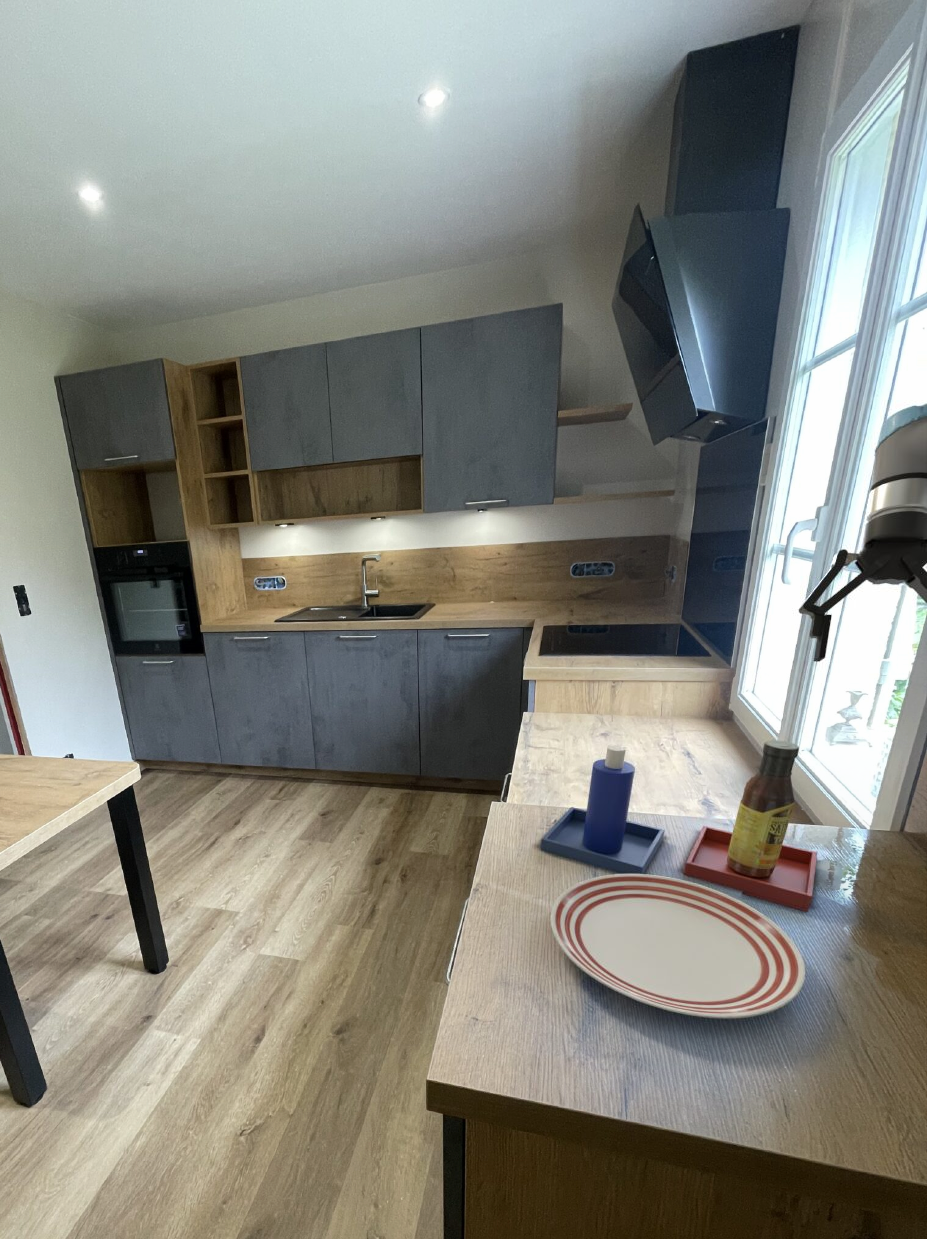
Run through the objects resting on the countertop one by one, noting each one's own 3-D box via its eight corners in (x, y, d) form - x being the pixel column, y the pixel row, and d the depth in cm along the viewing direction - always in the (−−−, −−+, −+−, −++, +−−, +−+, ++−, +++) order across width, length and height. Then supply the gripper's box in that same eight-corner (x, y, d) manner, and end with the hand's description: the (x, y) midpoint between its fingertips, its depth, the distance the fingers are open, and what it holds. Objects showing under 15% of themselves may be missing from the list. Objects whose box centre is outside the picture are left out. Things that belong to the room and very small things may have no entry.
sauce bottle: (764, 885, 88) (800, 756, 80) (717, 868, 92) (747, 745, 85) (780, 868, 92) (816, 744, 84) (735, 853, 96) (764, 734, 89)
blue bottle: (626, 842, 100) (642, 745, 94) (615, 858, 96) (632, 757, 89) (589, 832, 104) (602, 738, 97) (577, 847, 99) (590, 749, 93)
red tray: (812, 866, 93) (817, 852, 92) (807, 912, 83) (812, 896, 82) (700, 838, 102) (703, 825, 101) (682, 877, 91) (685, 862, 90)
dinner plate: (557, 1016, 67) (560, 992, 66) (542, 881, 92) (544, 862, 90) (847, 1059, 61) (857, 1034, 59) (748, 901, 85) (753, 881, 84)
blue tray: (662, 843, 101) (664, 829, 100) (639, 882, 91) (642, 867, 90) (569, 819, 110) (571, 806, 109) (539, 852, 99) (541, 838, 98)
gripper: (996, 528, 88) (973, 674, 88) (789, 531, 98) (768, 662, 98) (1029, 505, 81) (1004, 662, 81) (802, 511, 91) (780, 651, 91)
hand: (875, 662), depth 90 cm, fingers open, 13 cm apart
